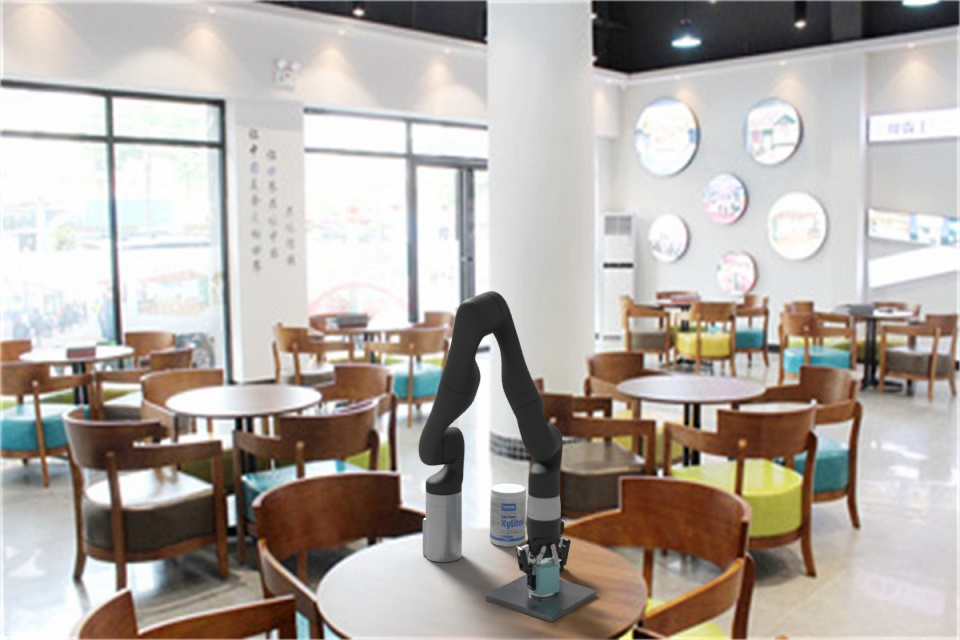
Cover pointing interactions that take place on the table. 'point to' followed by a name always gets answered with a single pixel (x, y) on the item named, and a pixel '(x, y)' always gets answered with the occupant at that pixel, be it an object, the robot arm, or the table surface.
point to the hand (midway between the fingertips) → (542, 586)
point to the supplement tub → (507, 514)
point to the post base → (541, 598)
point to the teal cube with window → (547, 578)
